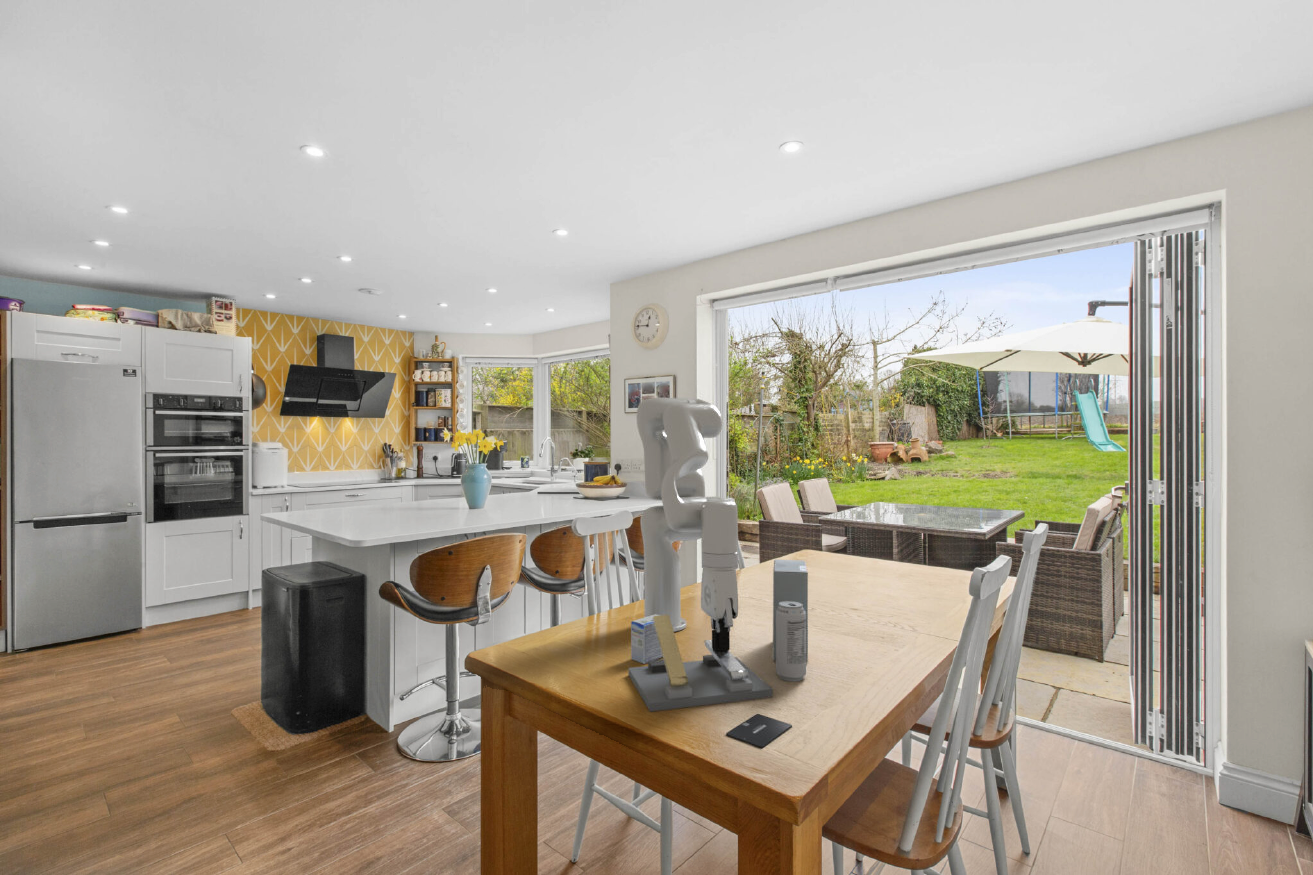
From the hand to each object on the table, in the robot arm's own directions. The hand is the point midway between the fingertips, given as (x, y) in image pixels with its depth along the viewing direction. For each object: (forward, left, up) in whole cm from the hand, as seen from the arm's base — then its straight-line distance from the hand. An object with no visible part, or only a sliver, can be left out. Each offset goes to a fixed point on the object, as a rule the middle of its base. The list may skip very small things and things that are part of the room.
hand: (720, 649), depth 126 cm
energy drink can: (+4, +14, -6) cm, 16 cm away
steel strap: (+3, 0, -2) cm, 3 cm away
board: (+3, -6, -6) cm, 9 cm away
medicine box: (-15, -11, -6) cm, 20 cm away
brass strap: (+3, -12, +2) cm, 13 cm away
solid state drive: (+24, -2, -6) cm, 25 cm away
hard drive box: (-10, +21, -6) cm, 24 cm away
